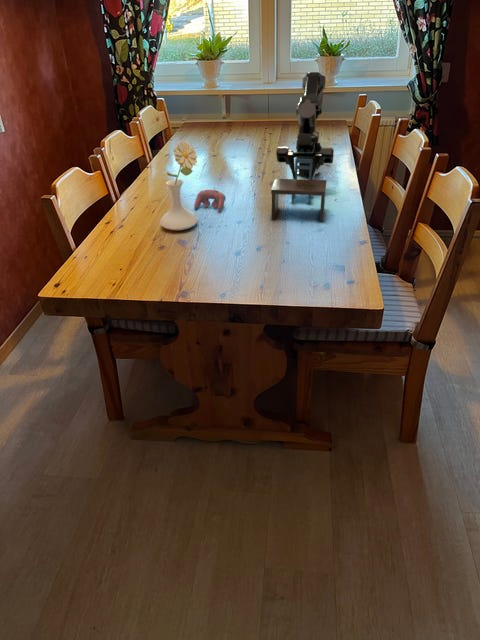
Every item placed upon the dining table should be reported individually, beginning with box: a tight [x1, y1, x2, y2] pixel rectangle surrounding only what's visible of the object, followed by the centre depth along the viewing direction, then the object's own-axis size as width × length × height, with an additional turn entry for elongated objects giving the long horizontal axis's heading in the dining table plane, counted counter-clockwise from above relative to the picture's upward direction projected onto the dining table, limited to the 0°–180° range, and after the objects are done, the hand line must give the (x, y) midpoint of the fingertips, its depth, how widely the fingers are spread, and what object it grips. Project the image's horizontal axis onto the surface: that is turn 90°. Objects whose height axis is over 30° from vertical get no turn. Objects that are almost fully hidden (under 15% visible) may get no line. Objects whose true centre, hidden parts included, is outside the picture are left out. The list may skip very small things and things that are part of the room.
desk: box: [270, 178, 328, 223], centre depth 154 cm, size 10×16×10 cm, turn 79°
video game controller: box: [193, 189, 226, 213], centre depth 162 cm, size 10×5×7 cm, turn 71°
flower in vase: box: [159, 140, 198, 231], centre depth 146 cm, size 13×11×25 cm
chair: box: [291, 158, 313, 205], centre depth 163 cm, size 7×6×13 cm
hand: (302, 178), depth 164 cm, fingers closed on chair, 5 cm apart
